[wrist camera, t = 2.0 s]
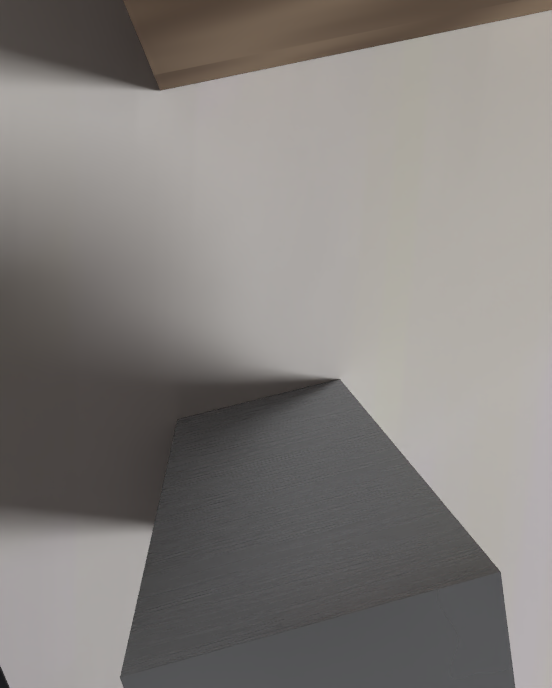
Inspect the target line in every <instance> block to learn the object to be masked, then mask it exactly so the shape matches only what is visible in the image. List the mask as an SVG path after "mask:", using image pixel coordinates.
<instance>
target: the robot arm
mask: <svg viewBox="0 0 552 688" xmlns="http://www.w3.org/2000/svg"><path fill="white" fill-rule="evenodd" d="M0 688H10V687H9V685H8V683H7V680H6V678H5V676H4V674H3V671H2V669H1V667H0Z"/></svg>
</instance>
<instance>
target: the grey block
mask: <svg viewBox="0 0 552 688" xmlns="http://www.w3.org/2000/svg"><path fill="white" fill-rule="evenodd" d="M120 679H121V681H122V684H123V687H124V688H515V682H514V675H513V667H512V659H511V651H510V643H509V635H508V627H507V619H506V611H505V603H504V595H503V587H502V579H501V572H500V571H499V569H498V568H497V567H496V566H495V565H494V563H493V562H492V561H491V560H490V559H489V557H488V556H487V555H486V554H485V553H484V551H483V550H482V549H481V548H480V547H479V545H478V544H477V543H476V542H475V541H474V539H473V538H472V537H471V536H470V535H469V533H468V532H467V531H466V530H465V529H464V527H463V526H462V525H461V524H460V523H459V521H458V520H457V519H456V518H455V517H454V515H453V514H452V513H451V512H450V511H449V509H448V508H447V507H446V506H445V505H444V503H443V502H442V501H441V500H440V499H439V497H438V496H437V495H436V494H435V493H434V491H433V490H432V489H431V488H430V487H429V485H428V484H427V483H426V482H425V481H424V479H423V478H422V477H421V476H420V475H419V473H418V472H417V471H416V470H415V469H414V467H413V466H412V465H411V464H410V463H409V462H408V460H407V459H406V458H405V457H404V456H403V454H402V453H401V452H400V451H399V450H398V448H397V447H396V446H395V445H394V444H393V442H392V441H391V440H390V439H389V438H388V436H387V435H386V434H385V433H384V432H383V430H382V429H381V428H380V427H379V426H378V424H377V423H376V422H375V421H374V420H373V418H372V417H371V416H370V415H369V414H368V412H367V411H366V410H365V409H364V408H363V406H362V405H361V404H360V403H359V402H358V400H357V399H356V398H355V397H354V396H353V394H352V393H351V392H350V391H349V390H348V388H347V387H346V386H345V385H344V384H343V382H342V381H341V380H340V379H339V380H335V381H331V382H327V383H323V384H319V385H314V386H310V387H306V388H302V389H298V390H294V391H290V392H286V393H282V394H278V395H274V396H270V397H266V398H262V399H258V400H254V401H250V402H246V403H242V404H238V405H234V406H230V407H226V408H222V409H218V410H214V411H210V412H205V413H201V414H197V415H193V416H189V417H185V418H181V419H178V420H177V424H176V429H175V433H174V438H173V442H172V447H171V451H170V456H169V460H168V465H167V469H166V474H165V478H164V483H163V487H162V492H161V496H160V501H159V505H158V510H157V514H156V519H155V523H154V528H153V532H152V537H151V541H150V546H149V550H148V555H147V559H146V564H145V568H144V573H143V577H142V582H141V586H140V591H139V595H138V599H137V604H136V608H135V613H134V617H133V622H132V626H131V631H130V635H129V640H128V644H127V649H126V653H125V658H124V662H123V667H122V671H121V676H120Z"/></svg>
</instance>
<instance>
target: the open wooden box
mask: <svg viewBox="0 0 552 688" xmlns="http://www.w3.org/2000/svg"><path fill="white" fill-rule="evenodd" d="M123 1H124V4H125V6H126V9H127V11H128V14H129V16H130V18H131V21H132V23H133V26H134V28H135V31H136V33H137V36H138V38H139V40H140V43H141V45H142V48H143V50H144V53H145V55H146V57H147V60H148V62H149V65H150V67H151V70H152V72H153V74H154V77H155V79H156V82H157V84H158V87H159V89H160V90H165V89H170V88H175V87H179V86H184V85H189V84H194V83H199V82H204V81H209V80H213V79H218V78H223V77H228V76H233V75H238V74H243V73H247V72H252V71H257V70H262V69H267V68H272V67H276V66H281V65H286V64H291V63H296V62H301V61H306V60H310V59H315V58H320V57H325V56H330V55H335V54H340V53H344V52H349V51H354V50H359V49H364V48H369V47H374V46H378V45H383V44H388V43H393V42H398V41H403V40H408V39H412V38H417V37H422V36H427V35H432V34H437V33H441V32H446V31H451V30H456V29H461V28H466V27H471V26H475V25H480V24H485V23H490V22H495V21H500V20H505V19H509V18H514V17H519V16H524V15H529V14H534V13H539V12H543V11H548V10H552V0H123Z"/></svg>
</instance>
